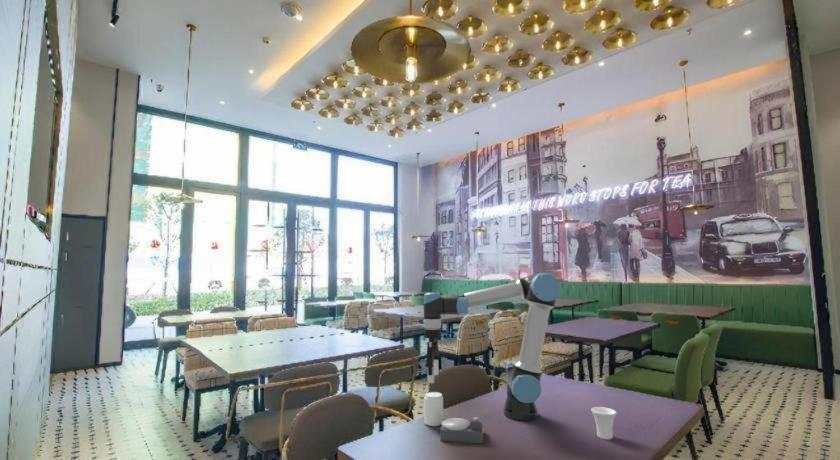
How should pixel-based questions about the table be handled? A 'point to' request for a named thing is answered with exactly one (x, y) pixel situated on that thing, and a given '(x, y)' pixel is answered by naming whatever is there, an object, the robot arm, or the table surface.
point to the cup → (604, 421)
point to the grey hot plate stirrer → (462, 430)
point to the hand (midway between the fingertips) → (433, 378)
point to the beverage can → (433, 408)
